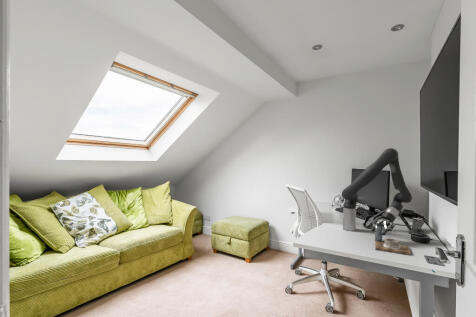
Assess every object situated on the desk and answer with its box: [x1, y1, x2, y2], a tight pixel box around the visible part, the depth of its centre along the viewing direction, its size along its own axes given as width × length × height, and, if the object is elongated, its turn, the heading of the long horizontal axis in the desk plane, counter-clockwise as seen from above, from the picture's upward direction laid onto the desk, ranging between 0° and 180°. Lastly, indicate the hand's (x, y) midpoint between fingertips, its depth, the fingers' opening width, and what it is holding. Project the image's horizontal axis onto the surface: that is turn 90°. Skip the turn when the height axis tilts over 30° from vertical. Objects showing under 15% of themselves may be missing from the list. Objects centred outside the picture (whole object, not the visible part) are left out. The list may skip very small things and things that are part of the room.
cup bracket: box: [374, 237, 412, 256], centre depth 154 cm, size 18×14×6 cm
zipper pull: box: [407, 219, 425, 235], centre depth 192 cm, size 9×7×25 cm
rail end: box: [374, 223, 383, 242], centre depth 169 cm, size 5×5×12 cm
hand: (377, 232), depth 169 cm, fingers open, 8 cm apart
